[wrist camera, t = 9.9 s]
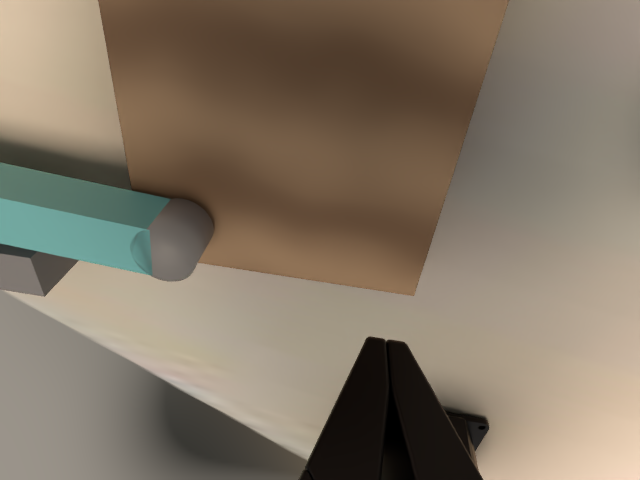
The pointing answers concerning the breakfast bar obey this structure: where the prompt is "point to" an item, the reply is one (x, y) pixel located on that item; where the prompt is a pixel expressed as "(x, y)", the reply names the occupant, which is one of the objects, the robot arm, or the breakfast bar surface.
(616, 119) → the breakfast bar surface
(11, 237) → the leg
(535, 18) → the breakfast bar surface
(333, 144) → the board
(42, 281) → the post
